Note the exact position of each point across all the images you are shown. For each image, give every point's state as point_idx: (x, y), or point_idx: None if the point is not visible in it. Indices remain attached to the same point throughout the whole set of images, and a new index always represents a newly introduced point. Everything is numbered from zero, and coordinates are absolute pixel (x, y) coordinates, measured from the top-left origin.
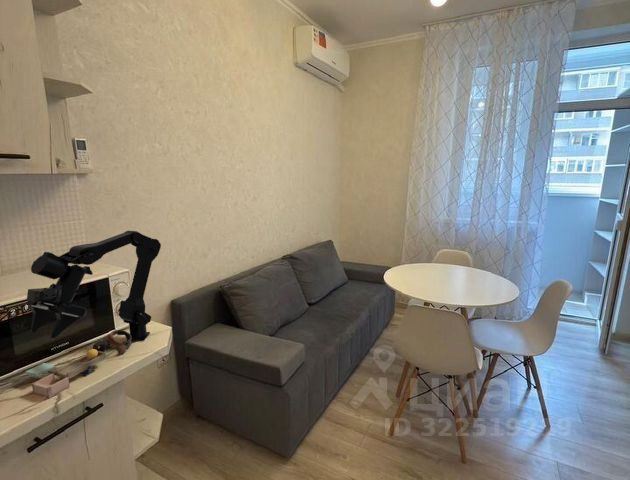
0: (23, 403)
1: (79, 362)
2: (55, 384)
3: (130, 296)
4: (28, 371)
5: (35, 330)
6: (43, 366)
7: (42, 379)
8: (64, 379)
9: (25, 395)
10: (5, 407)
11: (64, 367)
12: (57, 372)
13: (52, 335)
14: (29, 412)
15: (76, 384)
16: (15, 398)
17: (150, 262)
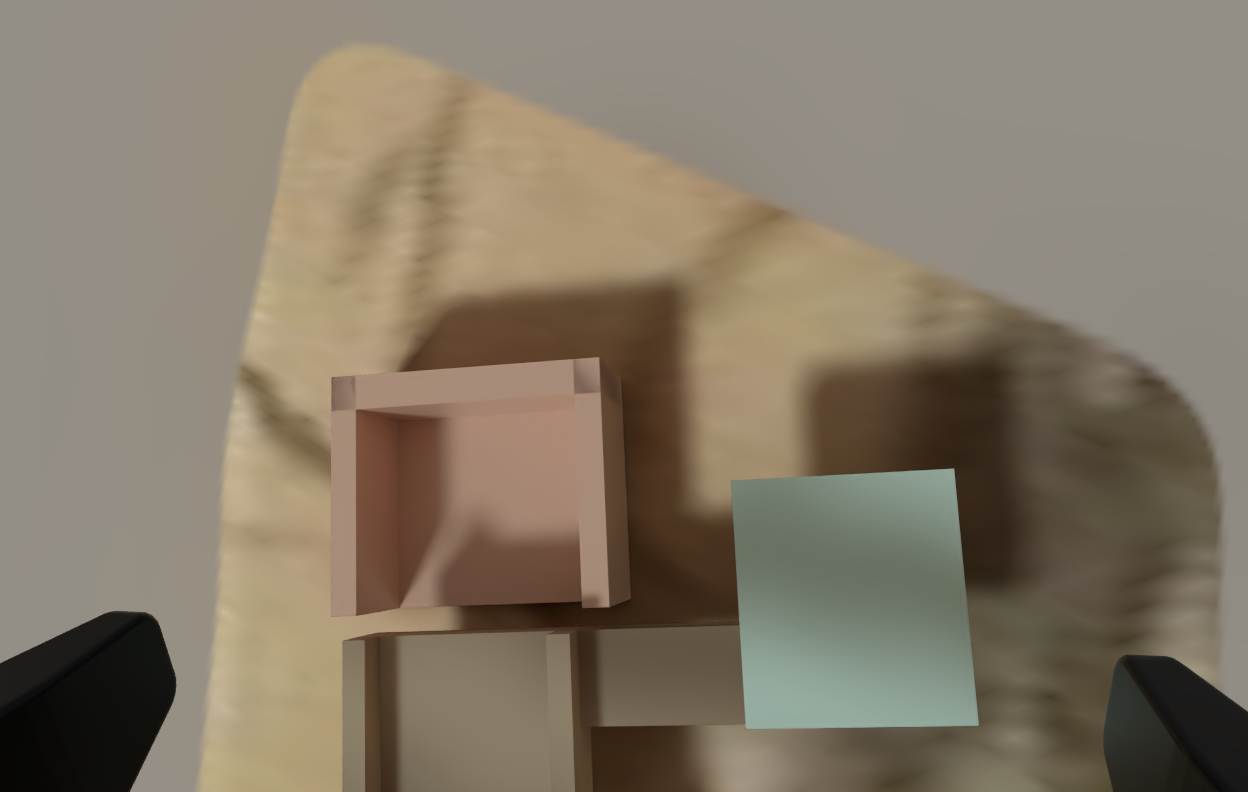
0: (537, 248)
1: None
2: (332, 459)
3: None
4: (917, 482)
5: (1119, 778)
6: (868, 649)
7: (584, 465)
8: (336, 569)
9: (665, 328)
10: (630, 145)
11: (551, 738)
12: (551, 633)
13: (55, 645)
14: (345, 201)
15: None
16: (704, 258)
17: None
